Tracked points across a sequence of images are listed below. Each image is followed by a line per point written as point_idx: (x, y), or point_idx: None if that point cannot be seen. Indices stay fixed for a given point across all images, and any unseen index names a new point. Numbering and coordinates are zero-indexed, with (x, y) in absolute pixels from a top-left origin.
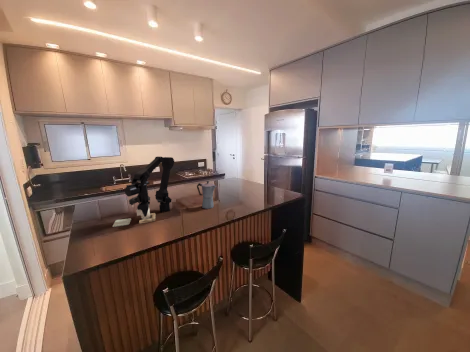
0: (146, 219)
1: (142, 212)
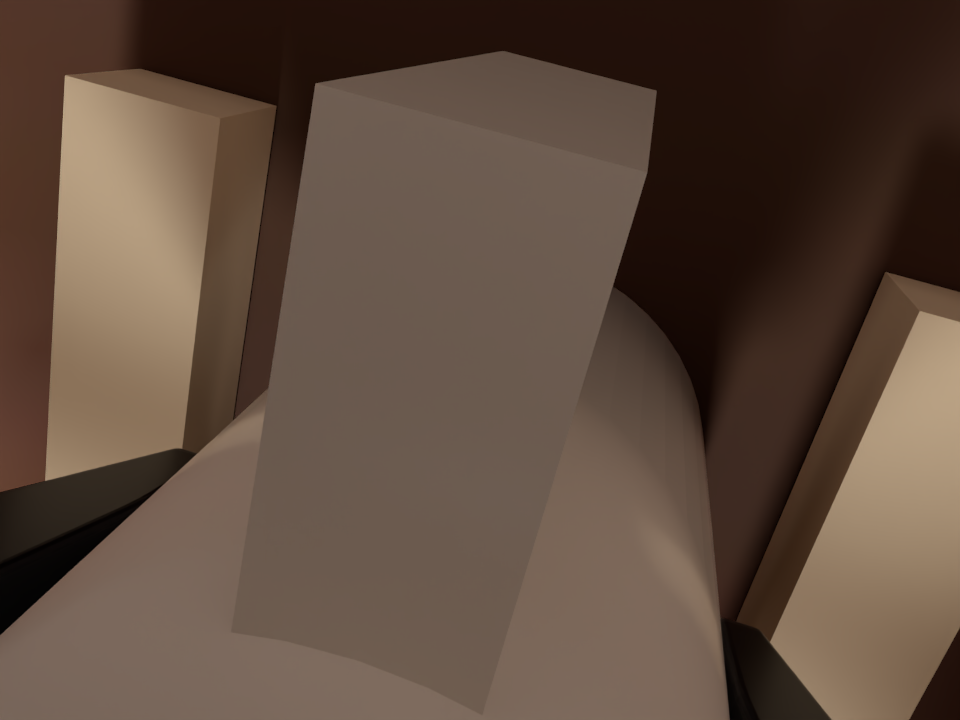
0: (144, 438)
1: (118, 532)
